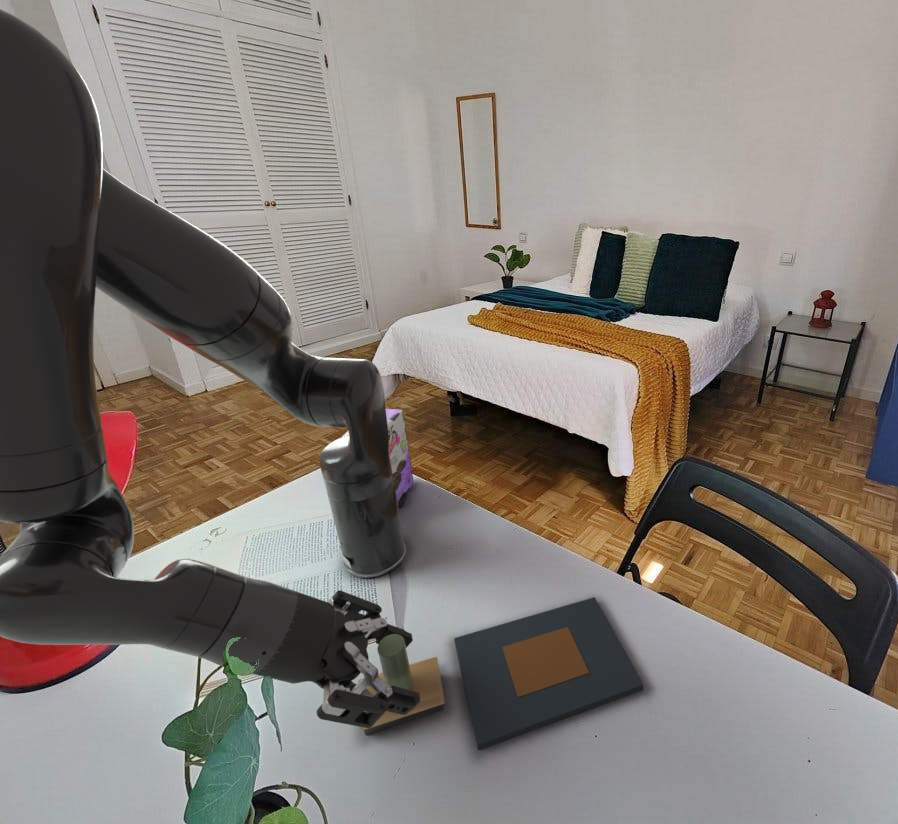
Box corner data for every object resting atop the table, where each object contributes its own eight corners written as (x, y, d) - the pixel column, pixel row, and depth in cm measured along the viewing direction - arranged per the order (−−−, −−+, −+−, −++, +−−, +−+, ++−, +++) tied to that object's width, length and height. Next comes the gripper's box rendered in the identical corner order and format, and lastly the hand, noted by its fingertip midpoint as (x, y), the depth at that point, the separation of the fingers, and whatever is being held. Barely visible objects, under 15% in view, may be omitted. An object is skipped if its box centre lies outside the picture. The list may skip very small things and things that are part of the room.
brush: (362, 696, 58) (346, 638, 53) (439, 672, 61) (430, 615, 56) (363, 737, 54) (346, 678, 49) (446, 710, 57) (437, 651, 52)
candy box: (379, 529, 84) (363, 447, 77) (348, 525, 85) (329, 443, 78) (415, 483, 96) (404, 408, 89) (387, 480, 97) (374, 405, 90)
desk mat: (454, 643, 64) (454, 637, 64) (594, 601, 70) (594, 596, 70) (477, 750, 53) (477, 744, 52) (643, 689, 59) (644, 683, 58)
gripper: (285, 667, 40) (442, 708, 49) (300, 551, 52) (424, 600, 61) (230, 728, 41) (395, 758, 50) (257, 600, 53) (386, 642, 62)
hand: (411, 671), depth 55 cm, fingers open, 7 cm apart
